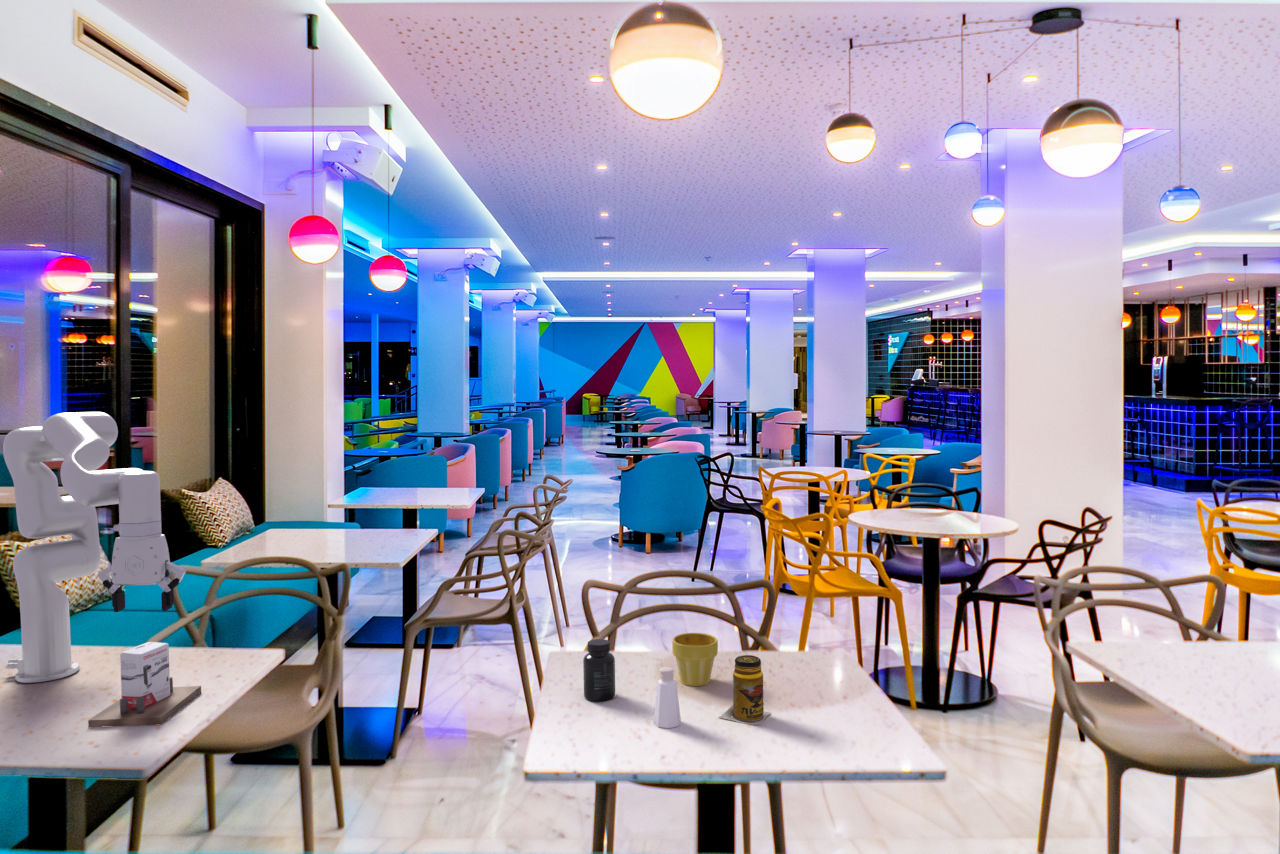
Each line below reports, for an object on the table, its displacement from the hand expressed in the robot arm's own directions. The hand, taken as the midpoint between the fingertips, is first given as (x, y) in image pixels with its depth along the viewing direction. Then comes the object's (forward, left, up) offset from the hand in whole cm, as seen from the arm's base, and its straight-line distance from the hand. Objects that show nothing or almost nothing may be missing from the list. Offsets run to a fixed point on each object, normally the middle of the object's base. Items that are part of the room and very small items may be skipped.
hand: (143, 609), depth 174 cm
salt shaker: (+109, -20, -22) cm, 113 cm away
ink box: (0, 0, -20) cm, 20 cm away
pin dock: (0, 0, -21) cm, 21 cm away
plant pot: (+118, +3, -22) cm, 120 cm away
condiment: (+125, -18, -22) cm, 128 cm away
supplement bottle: (+96, -4, -22) cm, 99 cm away
